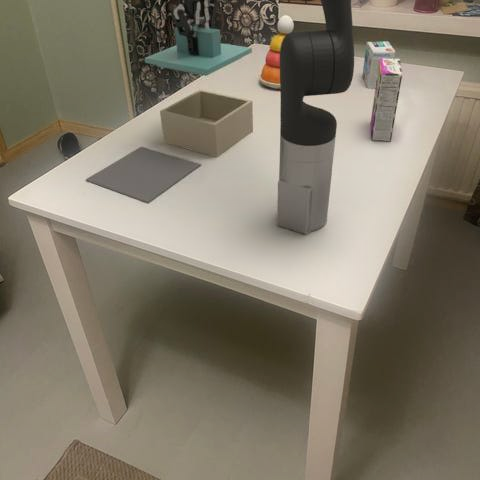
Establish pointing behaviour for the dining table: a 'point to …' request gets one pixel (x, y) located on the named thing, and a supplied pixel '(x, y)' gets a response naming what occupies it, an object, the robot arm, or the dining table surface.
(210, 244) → the dining table surface
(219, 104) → the storage box
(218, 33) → the lid
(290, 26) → the stacking toy
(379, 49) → the light bulb box
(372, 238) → the dining table surface
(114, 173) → the rubber mat
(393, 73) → the candy bar box
